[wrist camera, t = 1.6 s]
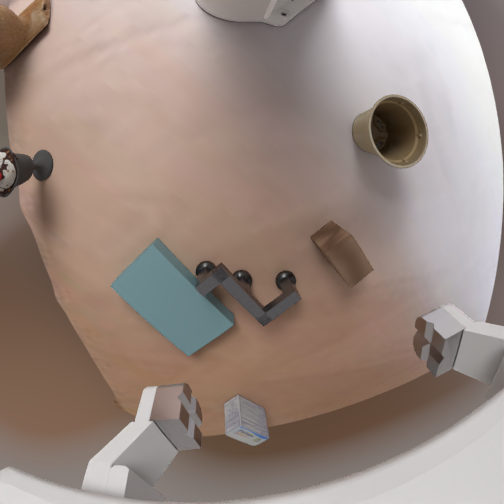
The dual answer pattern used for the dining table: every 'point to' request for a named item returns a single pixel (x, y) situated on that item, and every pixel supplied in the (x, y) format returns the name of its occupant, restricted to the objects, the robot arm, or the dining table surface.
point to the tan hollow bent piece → (21, 29)
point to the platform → (172, 299)
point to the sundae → (22, 168)
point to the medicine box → (245, 421)
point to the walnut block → (342, 253)
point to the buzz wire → (247, 290)
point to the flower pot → (393, 131)
